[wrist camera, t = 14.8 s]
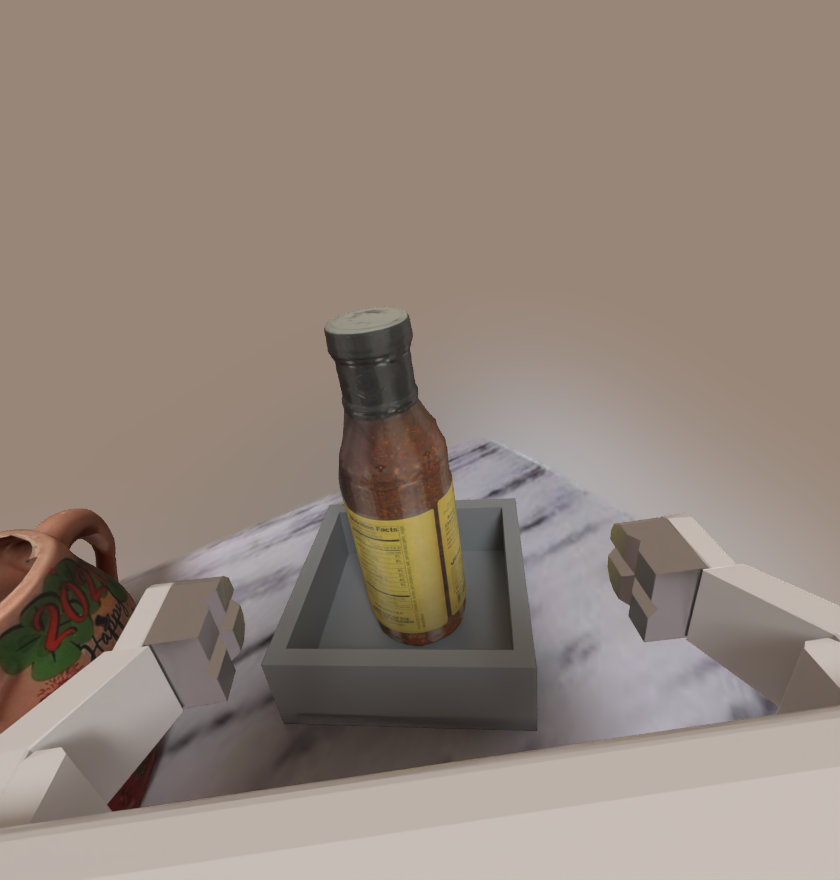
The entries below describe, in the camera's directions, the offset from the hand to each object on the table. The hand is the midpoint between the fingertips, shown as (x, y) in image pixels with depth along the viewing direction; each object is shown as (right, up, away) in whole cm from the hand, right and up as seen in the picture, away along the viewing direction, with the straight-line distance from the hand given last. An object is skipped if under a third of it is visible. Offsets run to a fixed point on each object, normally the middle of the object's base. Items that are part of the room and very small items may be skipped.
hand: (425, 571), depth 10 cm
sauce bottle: (0, -9, +22) cm, 24 cm away
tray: (0, -10, +23) cm, 24 cm away
